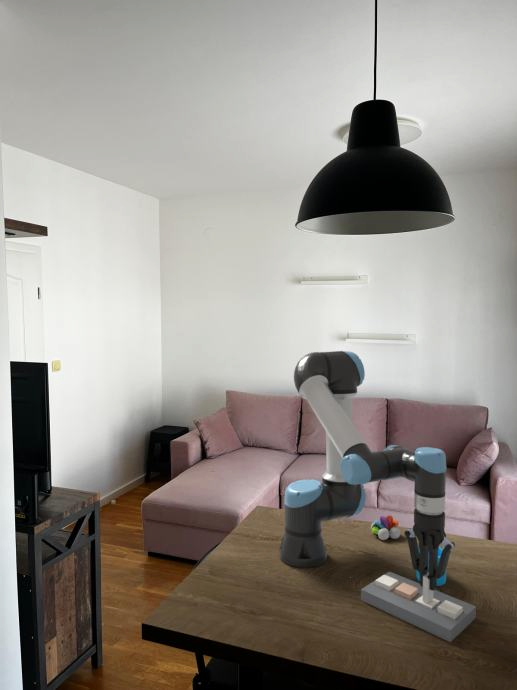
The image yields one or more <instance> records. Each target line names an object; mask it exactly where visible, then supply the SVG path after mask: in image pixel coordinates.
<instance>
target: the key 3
mask: <svg viewBox="0 0 517 690" xmlns="http://www.w3.org/2000/svg"><path fill="white" fill-rule="evenodd" d="M415 603H417V604H419V605H421V606H423V607H426V608H428V609H430V610H433V609H434V608H435V607H436V606H438V605H439V604H440V601H439V600H437V599H434V598H433V600H432V601H430V602H429V603H426V602H424V601H423V595H422V596H421V597H420V598H418V599H417V600H416V601H415Z"/></svg>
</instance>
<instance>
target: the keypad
mask: <svg viewBox="0 0 517 690" xmlns="http://www.w3.org/2000/svg"><path fill="white" fill-rule="evenodd" d="M384 575H387V576H389V577H391V578H394V579H396V580H398V586H399V585H401V584H402V583H406V584H408V585H411V586H413V587H416V588H418V595H417V596H416V597H414V598H413V599H412V600H407V599H405V598H403V597H401V596H398V595H396V594H395V589H393V590H392V591H390V592H389V591H387V590H385V589H382V588H380V587H378V586H375V580H374V581H372V582H370V583H369V584H368V585H366V586H364V587H363V588H361V589H360V601H361V602H364V603H366V604H368V605H370V606H372V607H374V608H377V609H378V610H381V611H383V612H385V613H386V614H390V615H391V616H393V617H396V618H397V619H400V620H402V621H404V622H406V623H407V624H411V625H412V626H415V627H416V628H419V629H422V630H423V631H425V632H428V633H429V634H432V635H434V636H436V637H438V638H440V639H442V640H444V641H446V642H449V643H452V641H453V640H455V638H457V636H458V635H459V634H461V633H462V632H463V631H464V630H465V629H466V628H467V627H468V626H469V625H470V624H471V623H472V622H473V621H475V620H476V618H477V606H476V605H473V604H470V603H468V602H466V601H463V600H461V599H458V598H456V597H453V596H450V595H448V594H445V593H443V592H441V591H439V590H437V589H435V590H433V598H434V599H437V600H439V601H440V604H442V603H443V602H444V601H445V600H447V601H449V602H452V603H454V604H457V605H459V606H462V607H463V614H462V615H460V616H459V617H458V618H457V619H456V620H453V619H451V618H449V617H446V616H444V615H442V614H439V613H437V607H438V606H439V605H440V604H439V605H438V606H436V607H435V608H434V609H433V610H430V609H428V608H426V607H423V606H421V605H419V604H417V603H415V601H416V600H417V599H418V598H420V597H421V596H422V595H423V587H422V586H421V585H420V582H417V581H414V580H411V579H409V578H407V577H404V576H401V575H400V574H396V573H394V572H392V571H388V572H386V573H385V574H384Z"/></svg>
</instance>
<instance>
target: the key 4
mask: <svg viewBox="0 0 517 690" xmlns="http://www.w3.org/2000/svg"><path fill="white" fill-rule="evenodd" d="M437 613H439V614H442V615H444V616H446V617H449V618H451V619H453V620H456V619H457V618H458V617H459V616H460V615H462V614H463V607H462V606H459V605H457V604H454V603H452V602H449V601H447V600H445V601H444V602H443V603H442V604H440V605H439V606H438V607H437Z"/></svg>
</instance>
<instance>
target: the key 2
mask: <svg viewBox="0 0 517 690" xmlns="http://www.w3.org/2000/svg"><path fill="white" fill-rule="evenodd" d="M395 594H396V595H398V596H401V597H403V598H405V599H407V600H412V599H413V598H414V597H416V596H417V595H418V588H416V587H413V586H411V585H408V584H406V583H402V584H401V585H399V586H398V587H396V588H395Z"/></svg>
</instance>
